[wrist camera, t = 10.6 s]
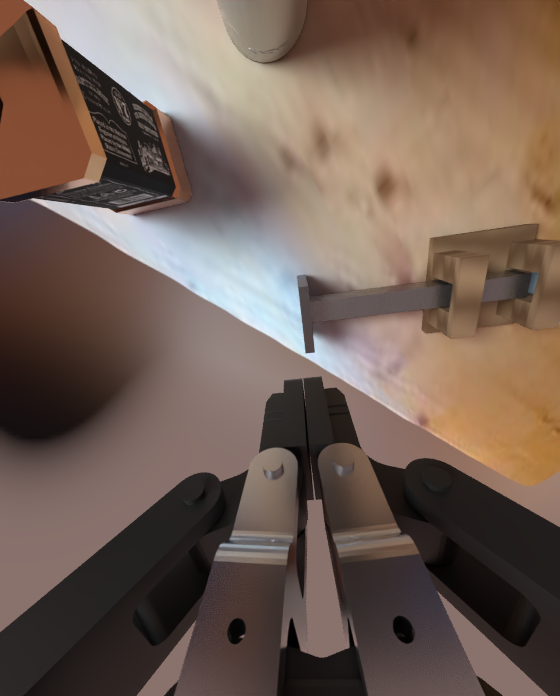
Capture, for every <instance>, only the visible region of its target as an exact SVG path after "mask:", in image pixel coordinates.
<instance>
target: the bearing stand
mask: <svg viewBox="0 0 560 696" xmlns="http://www.w3.org/2000/svg"><path fill="white" fill-rule="evenodd" d="M537 228H538V224H524V225H518V226H511V227H504V228H497V229H490V230H483V231H476V232H469V233H462V234H455V235H448V236H441V237H434V238H430V245H429V255H428V266H427V277H426V282H427V281H435V280H443V281H445V282H448V283H451V284H453V287H452V295H451V302H450V306H447V307H439V308H431V309H423V320H422V331H424V332H425V333H432V332H442V333H443V334H445V335H446V336H447V337H449V338H450V339H455V338H464V337H473V336H475V333H476V328H477V327H486V326H495V325H504V324H513V323H514V322H515V323H517V324H520V325H522V326H524V327H526V328H529V329H531V330H538V329H547V328H556V327H558V325H559V322H560V241H557V240H539V239H535V236H536V232H537ZM513 270H515V271H520V272H525V273H530V274H531V272H535V273H539V276H538V280H537V283H536V287H535V291H534V294H532V293H527V297H522V298H514V299H506V300H497V301H489V302H481V300H482V295H483V290H484V284H485V279H486V274H489V273H497V272H505V271H513Z"/></svg>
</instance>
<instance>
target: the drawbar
mask: <svg viewBox="0 0 560 696" xmlns="http://www.w3.org/2000/svg"><path fill="white" fill-rule="evenodd" d="M531 277H532V274H530V273H525V272H520V271H515V270H513V271H505V272H497V273H489V274H486V279H485V284H484V290H483V295H482V300H481V302H489V301H497V300H506V299H514V298H522V297H527V293H528V289H529V285H530V281H531ZM297 279H298V288H299V297H300V306H301V315H302V324H303V333H304V342H305V351H306V353H314V352H315V350H314V340H313V329H312V323H314V322H322V321H330V320H339V319H347V318H355V317H364V316H372V315H380V314H389V313H397V312H405V311H414V310H422V309H431V308H439V307H447V306H450V302H451V295H452V287H453V284H451V283H448V282H445V281H443V280H435V281H427V282H420V283H412V284H404V285H397V286H389V287H381V288H373V289H366V290H358V291H350V292H342V293H335V294H327V295H319V296H311V297H309V287H308V283H307V279H306V276H305V275H299V276H297Z"/></svg>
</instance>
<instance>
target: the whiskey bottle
mask: <svg viewBox="0 0 560 696" xmlns="http://www.w3.org/2000/svg"><path fill="white" fill-rule="evenodd" d="M191 195H192V191H191V187H190V184H189V180H188V177H187V173H186V170H185V166H184V163H183V159H182V156H181V152H180V149H179V145H178V142H177V138H176V135H175V131H174V128H173V124H172V121H171V118H169V117H168V116H167V115H165V114H164V113H162V112H161V111H160V110H158V109H157V108H156V107H154V106H153V105H152V104H150V103H149V102H148V101H143V102H141V101H140V100H139V99H137V98H136V97H135V96H133V95H132V94H131V93H130V92H128V91H127V90H126V89H124V88H123V87H122V86H121V85H119V84H118V83H117V82H115V81H114V80H113V79H112V78H110V77H109V76H108V75H107V74H105V73H104V72H103V71H101V70H100V69H99V68H98V67H96V66H95V65H94V64H92V63H91V62H90V61H89V60H87V59H86V58H85V57H83V56H82V55H81V54H80V53H78V52H77V51H76V50H74V49H73V48H72V47H71V46H69V45H68V44H67V43H65V42H64V41H63V40H62V39H61V38H60V36H59V33H58V30H57V28H56V26H54V25H53V24H52V23H51V22H50V21H48V20H47V19H46V18H45V17H44V16H43V15H41V14H40V13H39V12H38V11H37V10H35V9H34V8H33V7H32V6H30V5H29V4H28V3H26V2H25V1H24V0H0V201H2V202H14V203H16V202H20V201H24V200H28V199H32V198H35V199H43V200H50V201H57V202H65V203H72V204H80V205H87V206H94V207H102V208H109V209H111V210H113V211H114V212H116V213H121V214H128V215H134V214H138V213H143V212H147V211H151V210H156V209H160V208H164V207H169V206H173V205H177V204H182V203H186V202H188V201H189V199H190V197H191Z"/></svg>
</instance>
